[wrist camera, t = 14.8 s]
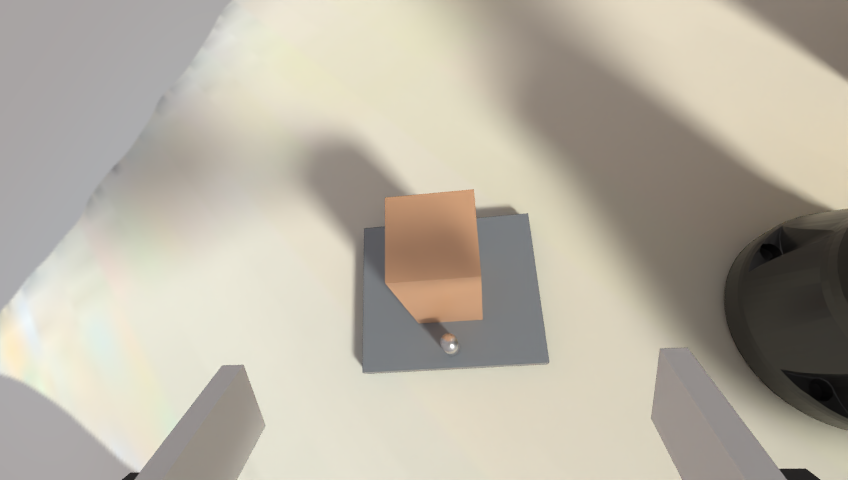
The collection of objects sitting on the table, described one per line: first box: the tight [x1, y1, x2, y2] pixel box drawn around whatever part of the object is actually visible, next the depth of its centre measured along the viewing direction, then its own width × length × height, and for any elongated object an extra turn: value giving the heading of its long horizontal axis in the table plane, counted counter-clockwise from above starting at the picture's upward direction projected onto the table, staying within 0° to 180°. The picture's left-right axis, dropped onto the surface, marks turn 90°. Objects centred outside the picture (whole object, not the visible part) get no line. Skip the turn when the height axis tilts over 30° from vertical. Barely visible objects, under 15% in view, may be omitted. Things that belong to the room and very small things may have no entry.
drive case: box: [385, 189, 483, 323], centre depth 28 cm, size 5×5×12 cm
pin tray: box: [363, 213, 549, 374], centre depth 33 cm, size 14×12×5 cm
